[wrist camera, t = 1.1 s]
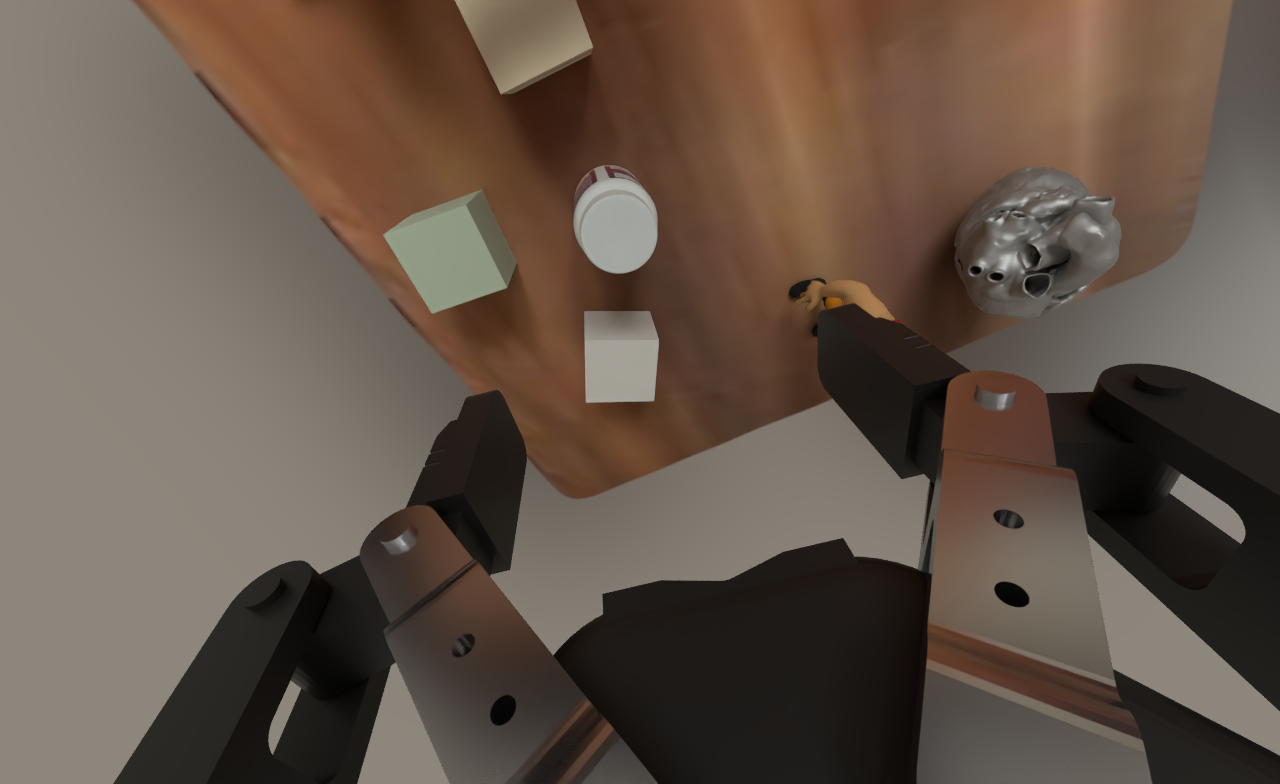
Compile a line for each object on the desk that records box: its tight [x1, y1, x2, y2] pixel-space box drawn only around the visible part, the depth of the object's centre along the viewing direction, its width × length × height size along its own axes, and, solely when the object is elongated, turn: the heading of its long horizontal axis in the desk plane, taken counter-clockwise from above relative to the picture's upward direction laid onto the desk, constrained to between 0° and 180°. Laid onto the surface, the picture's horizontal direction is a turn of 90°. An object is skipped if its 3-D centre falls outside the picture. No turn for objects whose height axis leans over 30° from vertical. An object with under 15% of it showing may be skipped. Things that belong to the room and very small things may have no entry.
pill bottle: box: [573, 165, 658, 274], centre depth 27 cm, size 5×5×8 cm
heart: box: [954, 166, 1122, 319], centre depth 29 cm, size 10×10×12 cm
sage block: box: [383, 189, 517, 314], centre depth 28 cm, size 5×5×5 cm
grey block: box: [584, 311, 659, 403], centre depth 34 cm, size 5×5×5 cm
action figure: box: [789, 278, 899, 336], centre depth 30 cm, size 10×4×15 cm, turn 36°
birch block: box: [455, 0, 593, 94], centre depth 23 cm, size 5×5×5 cm
